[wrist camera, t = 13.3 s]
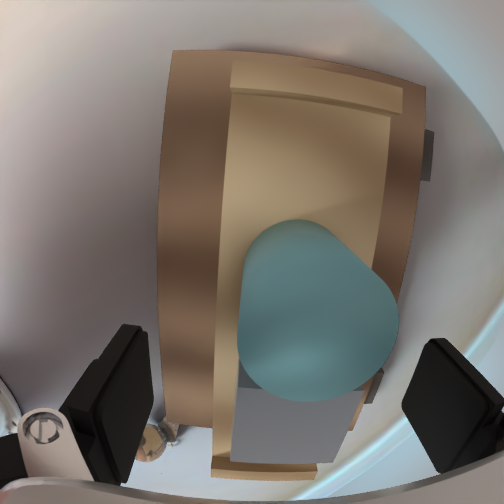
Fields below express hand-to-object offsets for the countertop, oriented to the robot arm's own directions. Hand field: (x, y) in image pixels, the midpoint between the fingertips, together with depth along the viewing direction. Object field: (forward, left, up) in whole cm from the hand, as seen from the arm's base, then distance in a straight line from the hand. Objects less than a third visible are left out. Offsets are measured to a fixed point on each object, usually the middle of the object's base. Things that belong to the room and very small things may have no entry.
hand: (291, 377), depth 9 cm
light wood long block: (0, 0, -8) cm, 8 cm away
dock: (0, 0, -11) cm, 11 cm away
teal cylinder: (+2, 0, -3) cm, 4 cm away
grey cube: (-2, 0, -3) cm, 4 cm away
